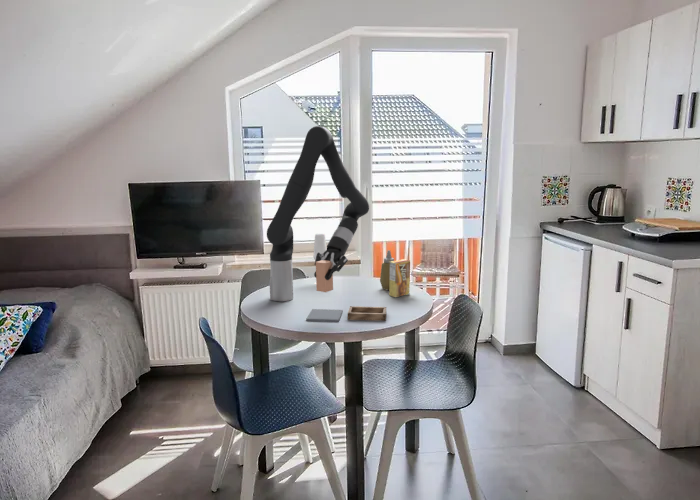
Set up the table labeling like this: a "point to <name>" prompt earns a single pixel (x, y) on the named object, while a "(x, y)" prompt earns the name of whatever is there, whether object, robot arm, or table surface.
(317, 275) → the terracotta block
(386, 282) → the squeeze bottle
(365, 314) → the walnut cradle
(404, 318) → the table surface
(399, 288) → the candy box
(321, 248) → the champagne flute
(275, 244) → the robot arm
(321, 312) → the slate mat
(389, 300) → the table surface
